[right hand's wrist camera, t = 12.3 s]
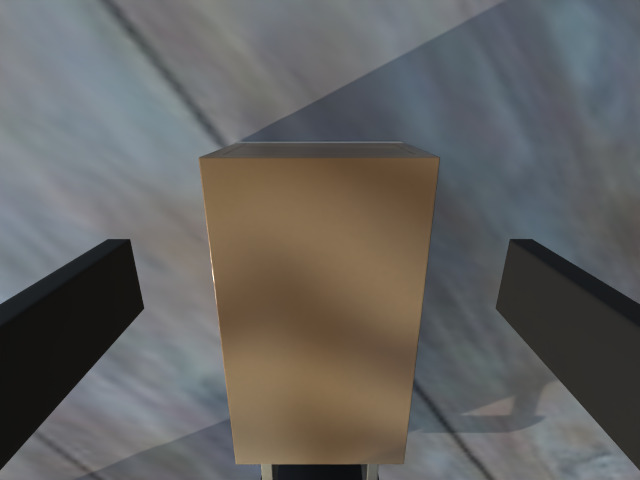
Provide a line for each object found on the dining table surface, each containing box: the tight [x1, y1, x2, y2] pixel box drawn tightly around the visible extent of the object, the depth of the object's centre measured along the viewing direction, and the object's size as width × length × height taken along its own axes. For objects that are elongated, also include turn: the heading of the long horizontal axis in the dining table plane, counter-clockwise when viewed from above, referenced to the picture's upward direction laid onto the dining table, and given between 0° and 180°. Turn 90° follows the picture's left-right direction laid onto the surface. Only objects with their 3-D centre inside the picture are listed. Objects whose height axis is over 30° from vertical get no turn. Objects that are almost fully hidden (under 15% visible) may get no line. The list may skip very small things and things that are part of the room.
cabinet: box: [199, 142, 440, 464], centre depth 23 cm, size 20×11×8 cm, turn 0°
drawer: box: [261, 464, 379, 480], centre depth 27 cm, size 25×10×6 cm, turn 0°
